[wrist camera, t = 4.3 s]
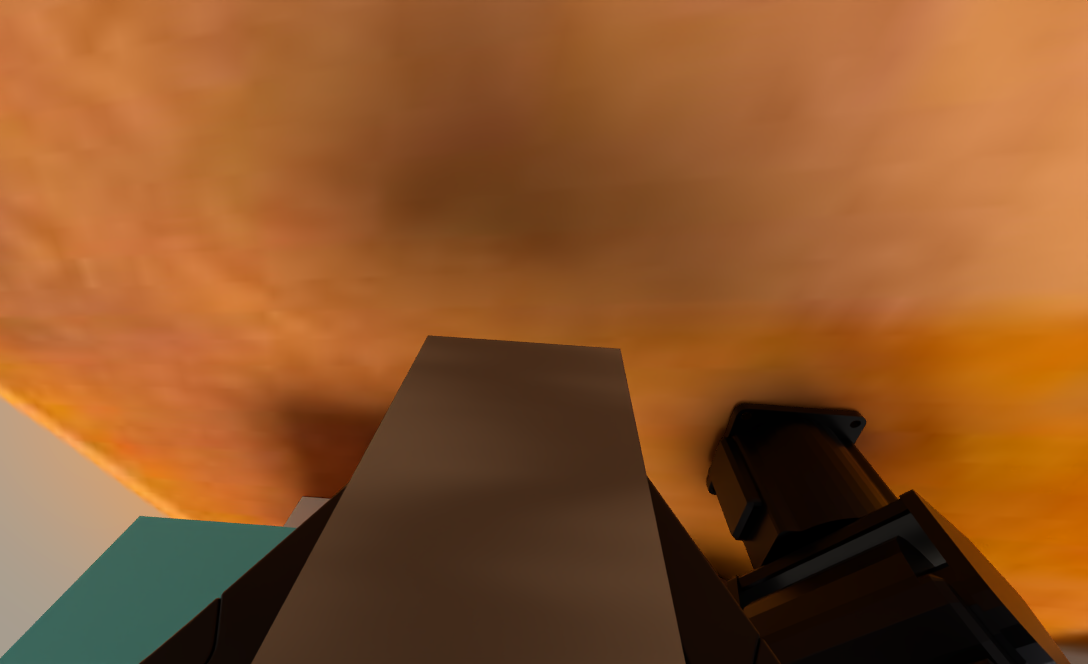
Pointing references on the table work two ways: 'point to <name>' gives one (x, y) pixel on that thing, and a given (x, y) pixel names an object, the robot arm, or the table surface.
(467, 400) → the grey mallet
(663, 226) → the table surface
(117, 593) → the l-shaped block
